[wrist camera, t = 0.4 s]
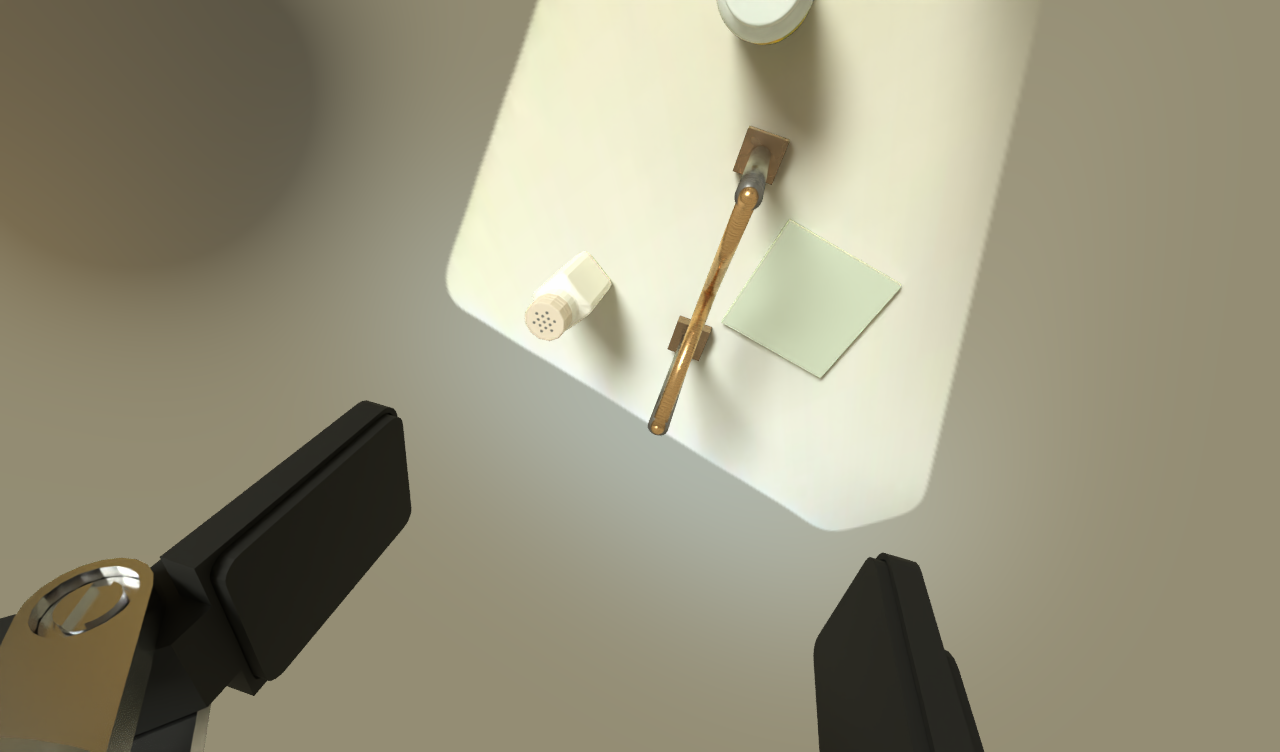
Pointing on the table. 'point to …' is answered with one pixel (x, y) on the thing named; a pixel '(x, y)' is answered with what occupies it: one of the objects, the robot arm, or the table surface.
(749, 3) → the supplement bottle
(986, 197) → the table surface
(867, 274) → the mat
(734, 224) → the wire hurdle
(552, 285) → the salt shaker
